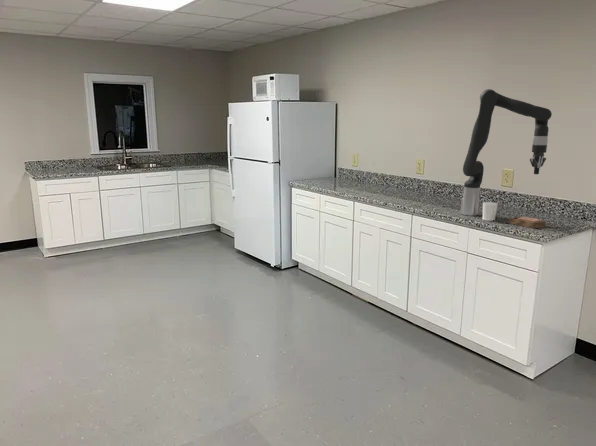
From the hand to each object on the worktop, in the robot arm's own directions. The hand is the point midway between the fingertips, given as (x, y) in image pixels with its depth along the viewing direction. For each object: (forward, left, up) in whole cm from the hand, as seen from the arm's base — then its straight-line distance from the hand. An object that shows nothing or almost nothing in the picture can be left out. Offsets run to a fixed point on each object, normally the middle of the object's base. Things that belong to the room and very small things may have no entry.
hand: (536, 174), depth 269 cm
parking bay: (+8, -16, -27) cm, 32 cm away
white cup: (-12, -23, -27) cm, 38 cm away
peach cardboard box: (+8, -15, -27) cm, 32 cm away
